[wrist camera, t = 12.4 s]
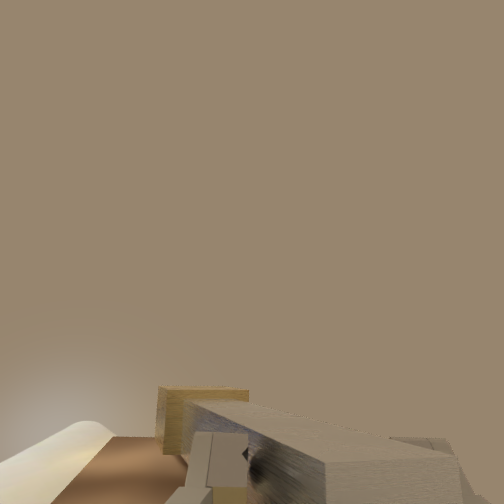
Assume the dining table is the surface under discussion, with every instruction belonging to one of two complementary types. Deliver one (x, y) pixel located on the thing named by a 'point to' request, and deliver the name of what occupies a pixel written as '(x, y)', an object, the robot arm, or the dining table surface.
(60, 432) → the dining table surface
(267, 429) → the grey and tan bar
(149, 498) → the scale stand
